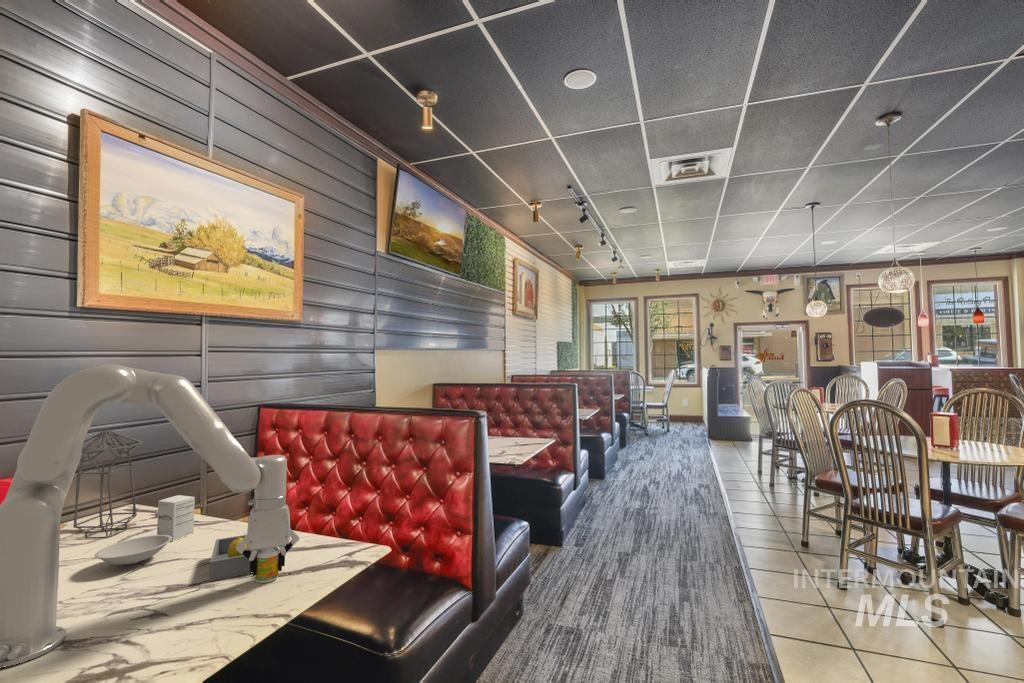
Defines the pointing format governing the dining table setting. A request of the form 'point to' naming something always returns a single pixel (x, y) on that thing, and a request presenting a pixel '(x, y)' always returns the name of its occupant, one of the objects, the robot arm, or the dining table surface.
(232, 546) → the lemon
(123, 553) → the dish
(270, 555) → the supplement bottle
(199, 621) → the dining table surface
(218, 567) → the tote
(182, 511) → the supplement box
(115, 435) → the geometric lantern
